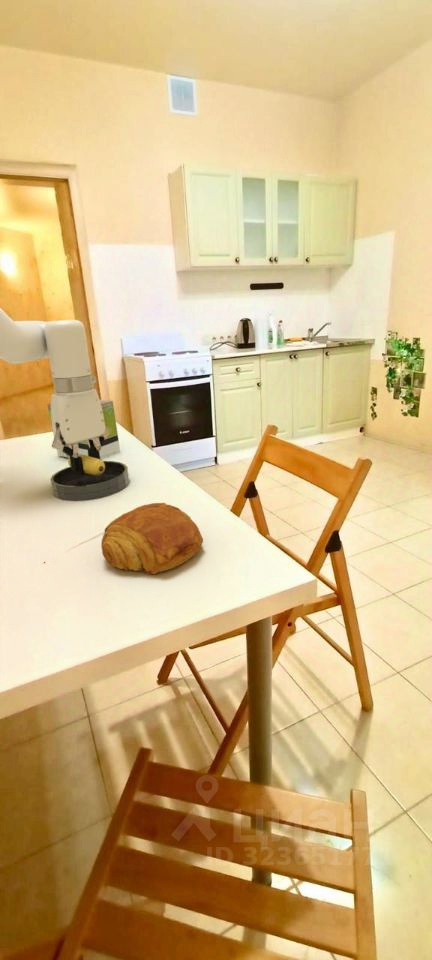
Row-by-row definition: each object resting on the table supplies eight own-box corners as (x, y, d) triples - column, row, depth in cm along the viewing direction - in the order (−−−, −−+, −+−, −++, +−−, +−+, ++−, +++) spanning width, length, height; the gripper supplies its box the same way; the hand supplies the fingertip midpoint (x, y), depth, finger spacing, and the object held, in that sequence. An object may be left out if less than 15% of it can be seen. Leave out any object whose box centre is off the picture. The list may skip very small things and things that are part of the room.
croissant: (94, 565, 71) (78, 522, 68) (172, 520, 79) (161, 480, 76) (142, 602, 60) (126, 553, 57) (226, 546, 69) (216, 500, 65)
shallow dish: (38, 492, 97) (35, 477, 96) (100, 470, 109) (98, 457, 107) (81, 509, 87) (78, 492, 86) (145, 483, 99) (143, 468, 97)
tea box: (56, 457, 122) (45, 403, 117) (85, 447, 130) (76, 396, 124) (93, 464, 114) (83, 406, 109) (122, 453, 121) (114, 399, 116)
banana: (66, 469, 99) (63, 454, 97) (80, 465, 101) (77, 450, 100) (96, 479, 92) (93, 463, 91) (110, 474, 94) (108, 458, 93)
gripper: (96, 378, 98) (107, 457, 105) (25, 390, 87) (42, 478, 93) (118, 380, 94) (128, 463, 100) (45, 393, 82) (62, 486, 88)
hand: (87, 469), depth 97 cm, fingers closed on banana, 3 cm apart
